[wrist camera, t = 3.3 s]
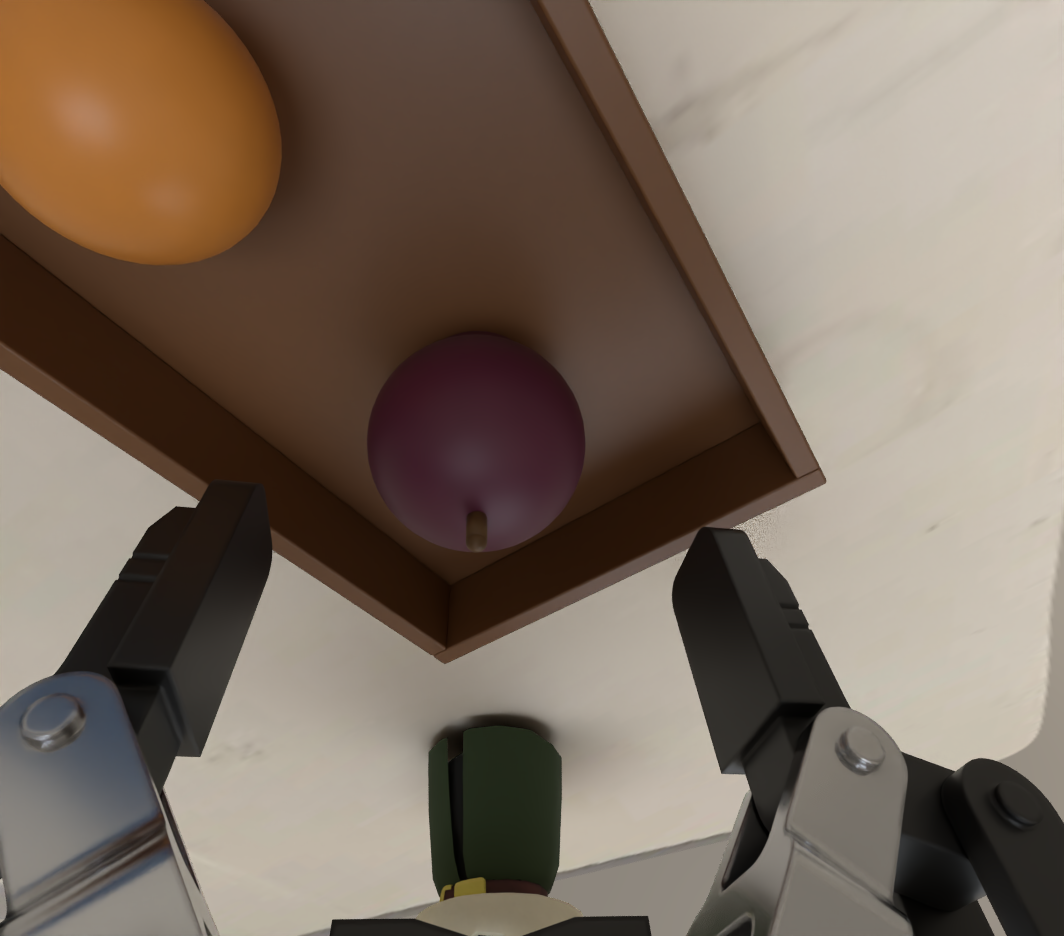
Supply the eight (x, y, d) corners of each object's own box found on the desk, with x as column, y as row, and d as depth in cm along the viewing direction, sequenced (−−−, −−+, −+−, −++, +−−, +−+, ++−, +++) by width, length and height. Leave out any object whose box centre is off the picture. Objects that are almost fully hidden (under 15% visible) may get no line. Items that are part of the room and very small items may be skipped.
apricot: (6, 69, 10) (-209, 109, 7) (153, -120, 9) (-29, -174, 6) (213, 261, 13) (120, 356, 10) (354, 133, 11) (301, 193, 8)
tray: (-259, 35, 10) (-480, 52, 8) (176, -759, 6) (-3, -1192, 4) (449, 586, 21) (444, 665, 19) (780, 412, 17) (828, 483, 15)
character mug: (553, 675, 25) (599, 1144, 15) (628, 739, 29) (704, 1143, 19) (356, 753, 28) (284, 1181, 18) (448, 801, 32) (431, 1174, 22)
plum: (341, 370, 15) (280, 534, 10) (497, 255, 13) (503, 391, 9) (464, 486, 17) (457, 656, 13) (607, 402, 16) (653, 563, 11)
